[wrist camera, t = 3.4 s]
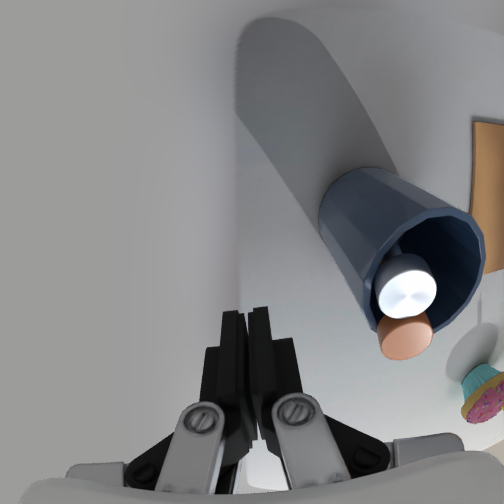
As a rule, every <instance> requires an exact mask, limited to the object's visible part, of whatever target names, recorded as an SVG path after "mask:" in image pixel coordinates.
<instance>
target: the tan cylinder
mask: <svg viewBox="0 0 504 504" xmlns="http://www.w3.org/2000/svg"><path fill="white" fill-rule="evenodd" d="M385 261H386V260H385V258H384V256H383V258H382V261H381V263H380V265H379V267H378V269H379V268H380V266H381V265H382V264H383V263H384V262H385ZM377 271H378V270H377ZM376 273H377V272H376ZM377 336H378V340H379V344H380V348H381V352H382V353H383V355H384V356H385V357H387V358H389V359H391V360H405V359H409V358H412V357H414V356H416V355H418V354H420V353H421V352H422V351H424V350H425V349H426V348H427V347H428V345H429V344H430V342H431V340H432V337H433V329H432V327H431V324H430V322H429V320H428V317H427V315H426V313H425V311H423V312H422V313H420V314H418V315H416V316H414V317H411V318H407V319H395V318H391V317H389V316H387V315H386V314H385V315H384V316H383V317H382V319H381V320H380V322H379V324H378V327H377Z"/></svg>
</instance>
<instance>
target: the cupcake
mask: <svg viewBox="0 0 504 504" xmlns="http://www.w3.org/2000/svg"><path fill="white" fill-rule="evenodd" d="M462 388H463V393H464V399H465V404H464V405H463V407H462V408H461V414H462V416H463V418H464V419H465V420H467V422H469V423H472V424H473V423H474V424H475V423H482V422H485V421H488V419H490V418H492V417H494V416H495V415H496V414H497V413H498V412H499V411H501V410H502V409H503V410H504V372H500V371H498V370H496V369H494V368H493V367H491V366H490V365H488V364H486V363H485V364H481V365H479V366H477V367H476V368H474V369H473V370H472V371H471V372H470V373H469V374H468V375H467V376H466V377H465V379H464V381H463V383H462Z"/></svg>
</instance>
